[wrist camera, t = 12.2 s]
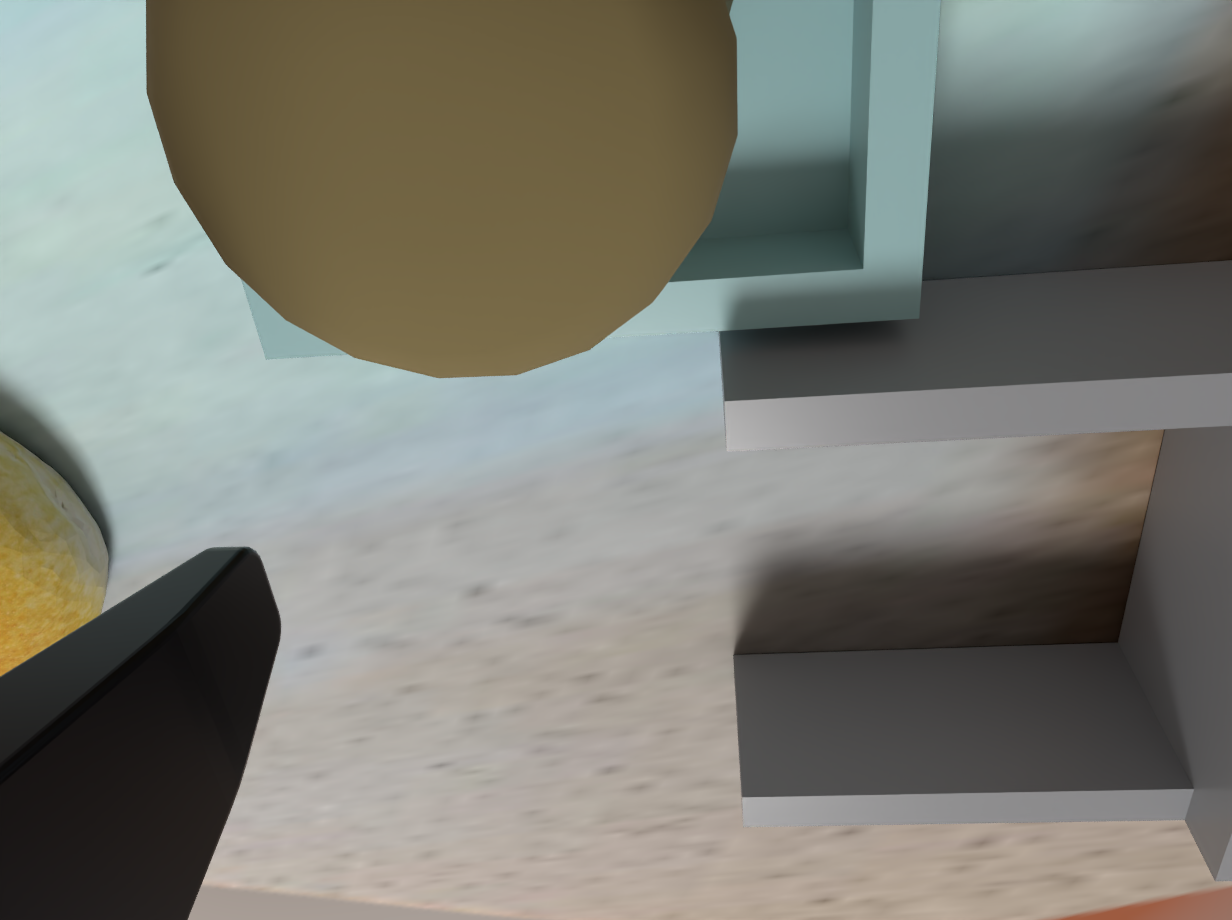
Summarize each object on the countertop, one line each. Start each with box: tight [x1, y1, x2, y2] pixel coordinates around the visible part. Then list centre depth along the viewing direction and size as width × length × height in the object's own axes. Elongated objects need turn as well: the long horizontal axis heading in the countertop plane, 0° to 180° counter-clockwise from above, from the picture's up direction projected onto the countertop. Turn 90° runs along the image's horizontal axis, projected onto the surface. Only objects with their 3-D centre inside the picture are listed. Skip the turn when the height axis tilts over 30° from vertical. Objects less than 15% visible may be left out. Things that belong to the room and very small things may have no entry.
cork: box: [146, 0, 738, 378], centre depth 13 cm, size 6×6×11 cm
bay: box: [719, 260, 1232, 881], centre depth 21 cm, size 12×11×6 cm
